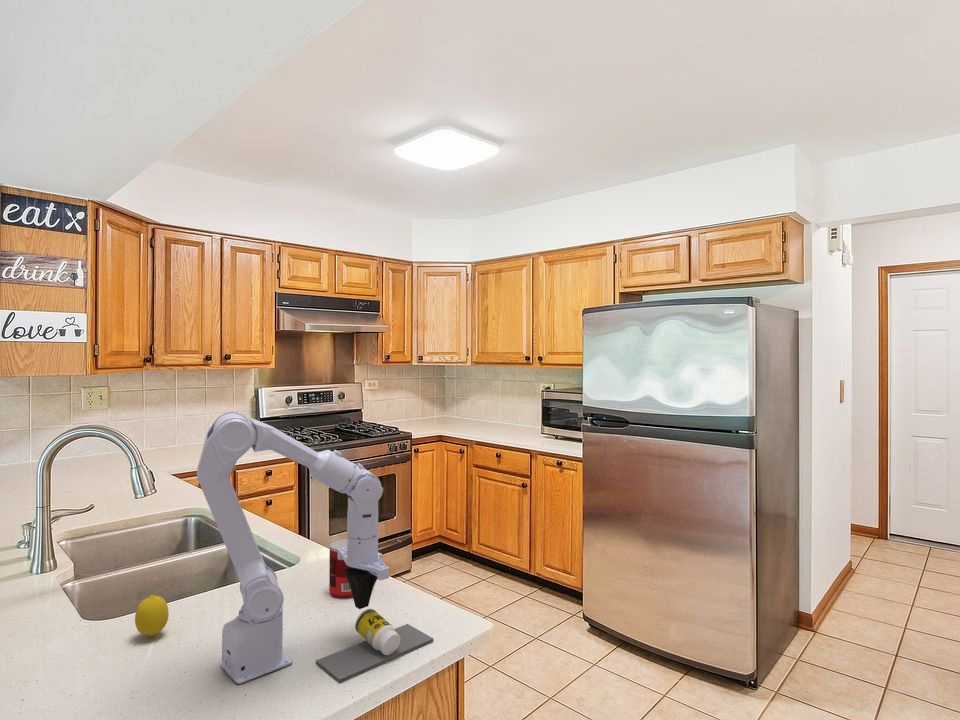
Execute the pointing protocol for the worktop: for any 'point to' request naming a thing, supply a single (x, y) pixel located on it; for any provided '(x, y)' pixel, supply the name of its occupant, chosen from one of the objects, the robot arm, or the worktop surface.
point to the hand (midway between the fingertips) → (361, 606)
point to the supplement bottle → (377, 631)
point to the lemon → (151, 615)
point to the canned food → (338, 572)
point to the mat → (370, 655)
